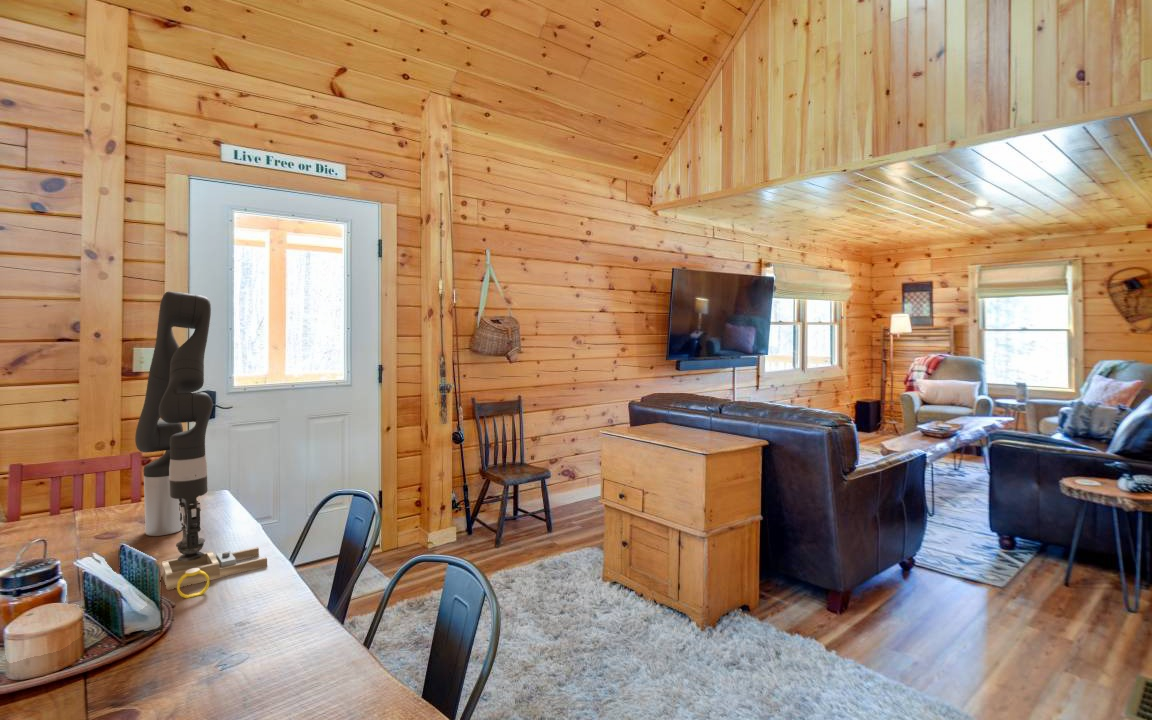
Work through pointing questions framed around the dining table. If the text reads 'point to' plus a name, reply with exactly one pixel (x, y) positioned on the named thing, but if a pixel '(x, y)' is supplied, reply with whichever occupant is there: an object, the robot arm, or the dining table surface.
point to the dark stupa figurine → (189, 553)
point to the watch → (191, 573)
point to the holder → (208, 568)
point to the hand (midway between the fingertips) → (190, 544)
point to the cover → (226, 559)
